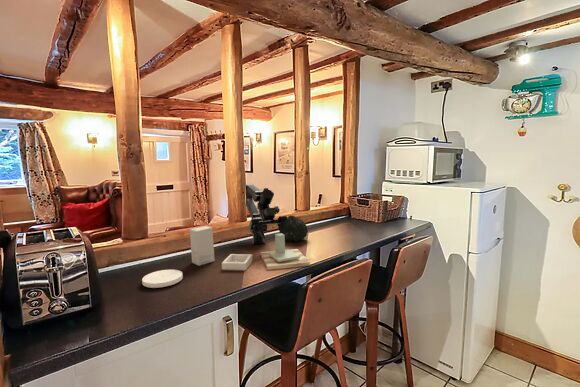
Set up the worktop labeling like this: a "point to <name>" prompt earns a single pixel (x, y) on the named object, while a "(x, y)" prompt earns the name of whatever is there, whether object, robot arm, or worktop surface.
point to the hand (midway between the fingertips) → (273, 237)
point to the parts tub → (237, 262)
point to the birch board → (274, 264)
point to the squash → (295, 229)
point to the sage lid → (282, 250)
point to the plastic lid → (162, 278)
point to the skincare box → (202, 245)
